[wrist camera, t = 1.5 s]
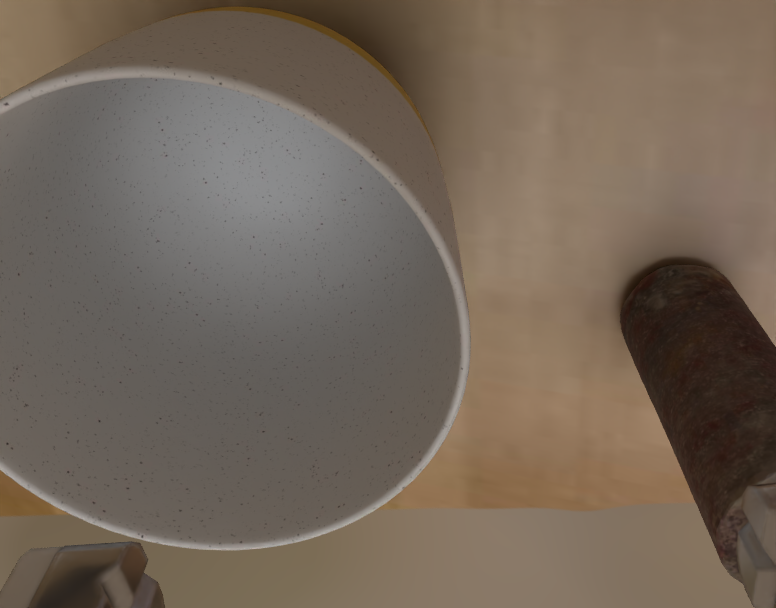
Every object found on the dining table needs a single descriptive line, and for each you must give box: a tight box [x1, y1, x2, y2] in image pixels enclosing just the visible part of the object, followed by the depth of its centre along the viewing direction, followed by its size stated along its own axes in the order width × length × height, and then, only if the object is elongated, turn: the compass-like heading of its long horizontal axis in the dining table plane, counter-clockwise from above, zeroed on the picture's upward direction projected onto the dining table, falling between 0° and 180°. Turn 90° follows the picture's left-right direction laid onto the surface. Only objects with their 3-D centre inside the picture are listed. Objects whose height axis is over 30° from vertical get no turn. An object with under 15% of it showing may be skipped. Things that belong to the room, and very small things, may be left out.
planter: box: [0, 6, 471, 550], centre depth 35 cm, size 20×20×21 cm
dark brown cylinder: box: [620, 265, 776, 584], centre depth 40 cm, size 8×7×20 cm
